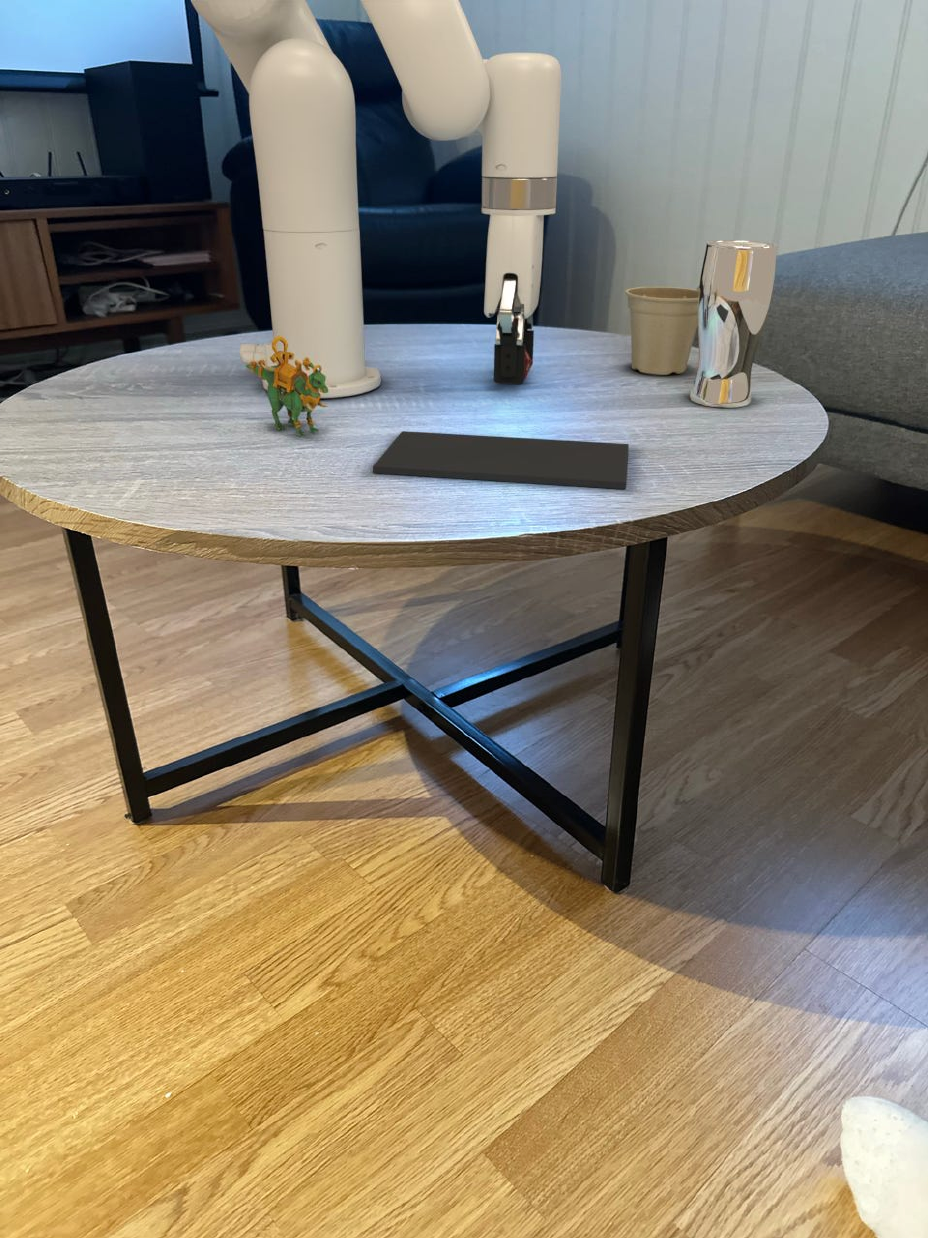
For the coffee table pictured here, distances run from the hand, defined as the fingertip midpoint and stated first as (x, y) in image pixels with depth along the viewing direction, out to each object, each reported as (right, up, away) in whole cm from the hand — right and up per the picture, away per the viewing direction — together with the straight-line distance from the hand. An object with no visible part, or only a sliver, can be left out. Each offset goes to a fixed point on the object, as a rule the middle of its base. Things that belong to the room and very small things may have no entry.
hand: (513, 373), depth 99 cm
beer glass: (+21, -5, -6) cm, 22 cm away
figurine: (-22, -9, -16) cm, 29 cm away
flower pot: (+17, +2, +6) cm, 18 cm away
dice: (0, -1, 0) cm, 1 cm away
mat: (-2, -14, -24) cm, 28 cm away
